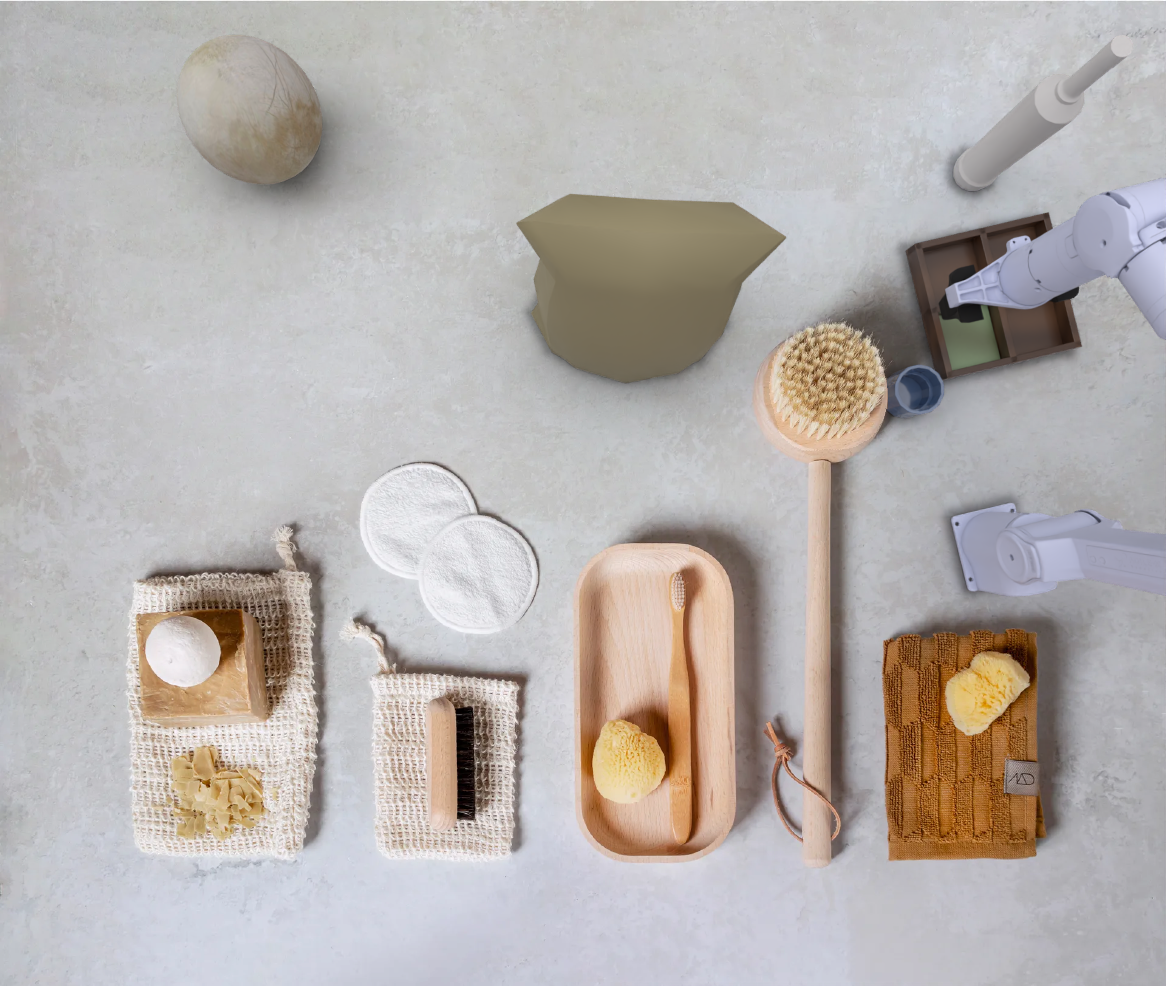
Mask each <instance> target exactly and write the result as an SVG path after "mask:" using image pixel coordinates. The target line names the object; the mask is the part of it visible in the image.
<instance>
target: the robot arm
mask: <svg viewBox="0 0 1166 986" xmlns="http://www.w3.org/2000/svg"><path fill="white" fill-rule="evenodd" d="M1006 247H1007V253H1006V254H1005V255H1003V256H1002V257H1000V258H999V259H997V260H996V261H994V262H993V263H991V264H990V265H988V266H987V267H985V268H984V269H982V270H981V271H979V272H978V273H976V271H975V267H974V264H973V265H969V266H965V267H960V268H957V269H956V270H954V271H953V272H951V273H950V274H949V285H948V288H946V289H945V291H946V293H945V295H944V296H943V297H942V299H941V300H940V302H939V308H940V312H941V316H942V319H943V320H951V319H958V320H959V321H960V322H961V323H971V322H975V321H979V320H984V317H983V313H982V308H981V304H983V305H992V306H1000V307H1008V308H1016V309H1032V308H1035V307H1038V306H1040V305H1042V304H1044V303H1046V302H1047V301H1052V302H1055V303H1056V302H1061V301H1065V300H1069V299H1070V300H1073V299H1075V298H1076V297H1077V296H1078V294H1079V292H1080V287H1081V286H1082V285H1085V284H1087V283H1090V282H1092V281H1094V280H1097V279H1099V278H1101V277H1104V276H1105V277H1106V278H1110V279H1117V280H1118V281H1119V282H1120V284H1121V286H1123V287H1124V290H1125V291H1126V292H1127V294H1128V295H1129V297H1130V299H1132V301H1133V303H1134V304H1135V305H1136V307H1137V308H1138V310H1139V311H1140V313H1141V314H1142V316H1143V317H1144V318H1145V320H1146V321H1147V322H1148V324H1149V326H1150V327H1151V328H1152V330H1153V331H1154V333H1155V335H1156V336H1157V337H1158V338H1159V339H1161V340H1164V341H1166V177H1159V178H1156V179H1153V180H1149V181H1144V182H1140V183H1136V184H1132V185H1128V186H1125V187H1124V186H1123V187H1119V188H1115V189H1111V190H1108V191H1104V192H1101V193H1099V194H1095V195H1092V196H1090V197H1088V198H1087V199H1086V200H1084V201H1083V203H1081V205H1080V206H1079V208H1078V209H1077V211H1076V214H1075V215H1074V216H1072V217H1070V218H1069V219H1067V220H1065V221H1063V222H1061V223H1060V224H1058V225H1057V226H1055V227H1053V229H1051V230H1050V231H1048V232H1046V233H1045V234H1043V235H1041V236H1040V237H1038V238H1036V239H1034V240H1033V241H1031V240H1030V238H1029V237H1028V236H1021V237H1017V238H1013V239H1011V240H1009V241H1008V242H1007V244H1006ZM1011 510H1012V512H1011ZM950 523H951V526H952V531H953V536H954V539H955V544H956V548H957V551H958V555H959V560H960V564H961V569H962V572H963V577H964V580H965V584H966V588H967V590H968V591H970V592H977V591H980V592H984V593H989V594H995V595H999V596H1003V597H1028V596H1029V597H1030V596H1035V595H1041V594H1045V593H1048V592H1051V591H1054V590H1056V589H1057V588H1058V582H1066V581H1076V580H1078V581H1079V580H1091V581H1095V582H1100V583H1104V584H1109V585H1114V586H1119V587H1123V588H1127V589H1132V590H1137V591H1140V592H1146V593H1150V594H1155V595H1158V596H1164V597H1166V533H1160V532H1159V533H1157V532H1150V531H1141V530H1134V529H1132V530H1131V529H1124V527H1123V525H1122V523H1121V521H1120V520H1118V519H1110V518H1107V517H1105V516H1103V515H1102V514H1100V513H1099V512H1097V511H1096V510H1094V509H1091V508H1081V509H1078V510H1075V511H1073V512H1071V513H1066V514H1063V515H1059V516H1052V515H1050V514H1047V513H1041V512H1018V511H1017V507H1016V504H1015V503H1014V502H1007V503H1003V504H998V505H994V506H989V507H986V508H983V509H978V510H973V511H969V512H965V513H961V514H957V515H953V516H952V517H951V518H950ZM956 523H957V525H956Z"/></svg>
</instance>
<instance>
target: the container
mask: <svg viewBox="0 0 1166 986" xmlns="http://www.w3.org/2000/svg"><path fill="white" fill-rule="evenodd" d="M515 224H516V225H517V227H518V229H519V230H520V232H521V233H522V236H524V238H525V240H527V242H528V244H529V245H530V246H531V248H532V249H533V251H534V252H535V254H536V256H537V257H538V258H539V260H538V263H537V267H536V270H535V273H534V276H533V284H534V289H535V294H536V299H537V300H536V301H537V303H536V305H535V306H534V308H533V309H532V311H531V312H530V314H531V316H532V318H533V320H534V323H535V324H536V326H537V328H538V330H539V331H540V334H541V335H542V337H543V339H544V340H545V342H546V344H547V346H548V348H549V350H550V352H551V353H553V354H554V355H555V356H558V358H561V359H563V360H565V361H566V362H567V363H568V364H569V365H571V366H572V367H573V368H574V369H577V370H581V371H583V372H588V373H590V374H594V375H597V376H601V377H604V378H607V379H610V380H614V381H616V382H620V383H623V384H629V383H630V384H631V383H636V382H640V381H647V380H651V379H656V378H660V377H661V378H662V377H666V376H671V375H675V374H680V373H681V372H683V371H684V370H685V369H687V368H688V367H690V366H692V365H693V364H695V363H697V362H700V361H702V359H703V358H704V357H705V355H706V354H707V353H708V352H709V351H710V350H711V349H712V347H713V346H714V345H715V344H716V343H717V342H718V340H720V338H721V337H722V336H723V335H724V333H725V330H726V327H727V324H728V322H729V320H730V317H731V314H732V312H733V309H734V307H735V304H736V303H737V299H738V297H739V295H740V292H741V290H742V286H743V285H742V284H743V283H744V281H746V279H747V278H749V277H750V275H752V274H753V273H754V271H756V270H757V269H758V268H759V266H760V265H761V264H763V262H764V261H765V260H766V259H767V258H769V256H770V255H772V254H773V252H775V250H777V248H778V247H779V246H780V245H782V243H783V242H784V241H785V240H786V239H787V236H786V235H784V234H783V233H782V232H780V231H778V230H777V229H775V228H774V227H772V226H771V225H769V224H768V223H766V222H765V221H763V220H761V219H760V218H759V217H757V216H755V215H754V214H752V213H751V212H749V211H748V210H746V209H745V208H743V207H742V206H740V205H739V204H736V202H731V201H706V200H705V201H704V200H681V199H680V200H678V199H676V200H675V199H651V198H650V199H648V198H634V197H622V196H621V197H620V196H609V195H608V196H607V195H595V194H594V195H593V194H581V193H569V194H566V195H565V196H562V197H560V198H558V199H556V200H554V201H553V202H551V203H549V204H547V205H545V206H544V207H542V208H540V209H538V210H536V211H535V212H533V213H531V214H529V215H527V216H525V217H524V218H522V219H521V220H518V221H517V222H516V223H515Z"/></svg>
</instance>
